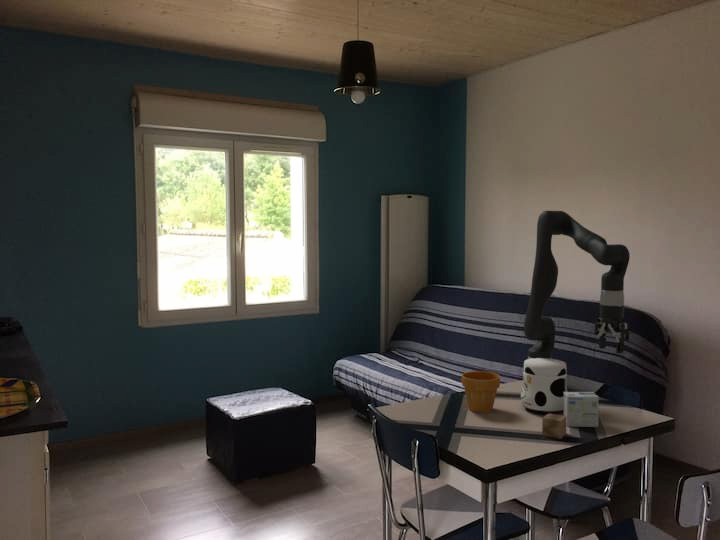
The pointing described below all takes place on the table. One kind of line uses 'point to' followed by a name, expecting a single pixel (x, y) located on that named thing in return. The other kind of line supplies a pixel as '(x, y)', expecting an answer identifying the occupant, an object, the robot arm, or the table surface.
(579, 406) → the light bulb box
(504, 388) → the table surface
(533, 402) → the milk container
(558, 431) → the walnut block
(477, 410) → the flower pot
